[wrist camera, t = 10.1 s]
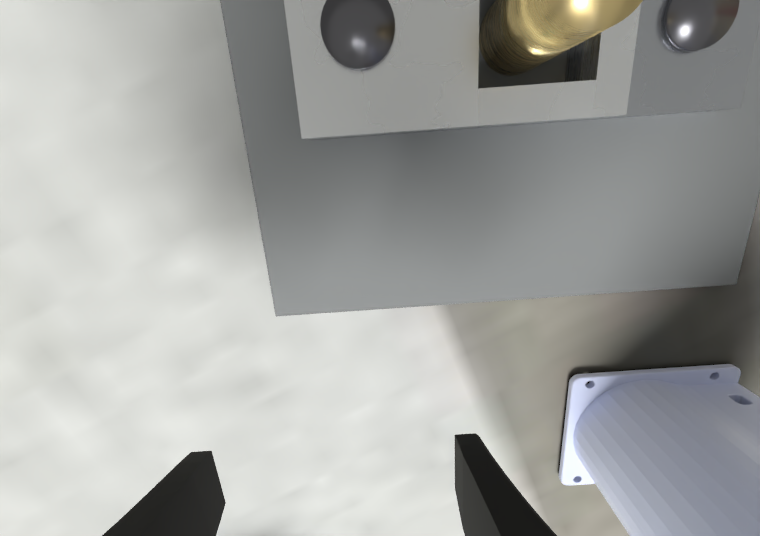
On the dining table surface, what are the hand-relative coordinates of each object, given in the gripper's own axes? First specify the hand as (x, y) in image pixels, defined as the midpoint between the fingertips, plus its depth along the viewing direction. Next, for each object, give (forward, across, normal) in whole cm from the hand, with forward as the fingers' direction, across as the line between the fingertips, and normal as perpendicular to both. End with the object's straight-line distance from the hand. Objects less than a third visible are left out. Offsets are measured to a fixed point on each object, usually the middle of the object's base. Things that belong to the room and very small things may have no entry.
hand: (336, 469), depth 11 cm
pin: (+9, -8, -13) cm, 18 cm away
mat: (+9, -8, -10) cm, 16 cm away
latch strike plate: (+9, -8, -13) cm, 18 cm away
